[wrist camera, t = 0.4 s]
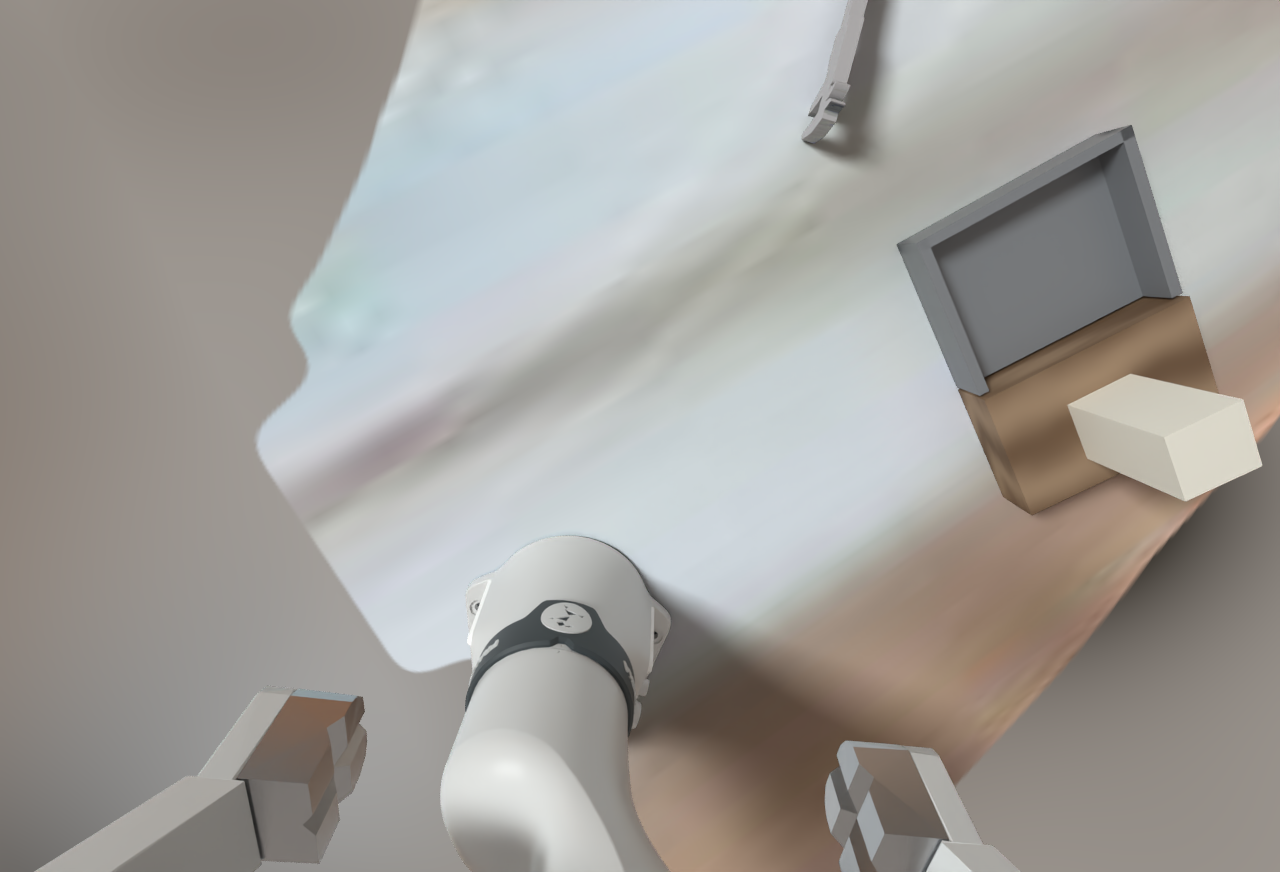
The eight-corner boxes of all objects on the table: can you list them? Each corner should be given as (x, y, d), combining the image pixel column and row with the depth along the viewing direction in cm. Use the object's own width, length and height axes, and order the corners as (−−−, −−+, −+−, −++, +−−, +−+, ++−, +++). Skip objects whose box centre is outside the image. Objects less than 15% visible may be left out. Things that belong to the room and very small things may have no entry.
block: (1148, 428, 48) (1262, 465, 39) (1087, 458, 48) (1185, 501, 40) (1130, 373, 47) (1242, 399, 38) (1067, 404, 47) (1163, 437, 39)
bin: (1144, 290, 49) (1182, 292, 45) (956, 387, 51) (979, 395, 47) (1095, 134, 46) (1131, 124, 42) (896, 244, 48) (916, 243, 44)
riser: (1183, 410, 52) (1227, 422, 48) (1003, 497, 54) (1031, 515, 50) (1145, 293, 49) (1189, 296, 45) (958, 389, 51) (984, 400, 47)
